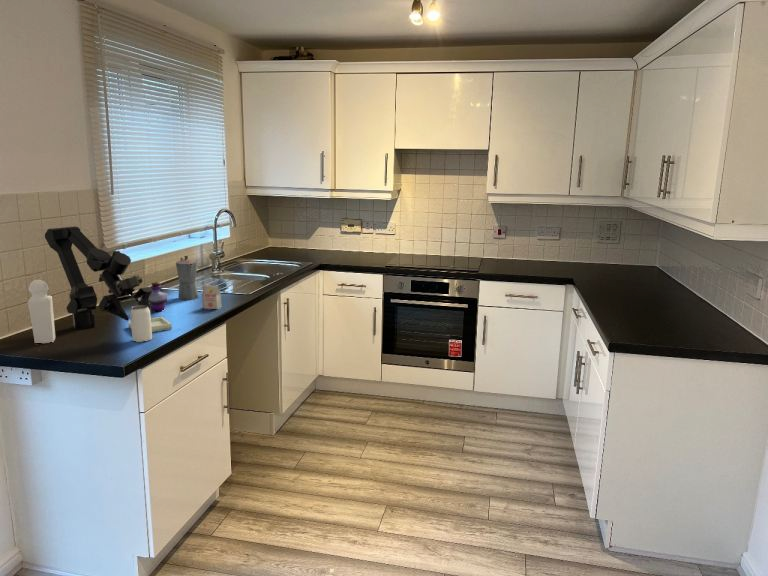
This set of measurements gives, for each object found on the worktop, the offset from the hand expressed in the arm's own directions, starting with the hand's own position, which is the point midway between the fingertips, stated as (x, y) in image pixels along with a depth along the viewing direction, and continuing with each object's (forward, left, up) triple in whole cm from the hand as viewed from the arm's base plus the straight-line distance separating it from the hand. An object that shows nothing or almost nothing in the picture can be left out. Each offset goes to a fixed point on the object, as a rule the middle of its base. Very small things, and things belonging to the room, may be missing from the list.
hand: (139, 316), depth 199 cm
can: (0, -1, -9) cm, 9 cm away
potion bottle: (+16, +39, -9) cm, 44 cm away
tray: (+6, +13, -8) cm, 17 cm away
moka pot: (+34, +55, -9) cm, 65 cm away
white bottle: (-28, +17, -9) cm, 34 cm away
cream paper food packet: (+36, +29, -9) cm, 47 cm away
